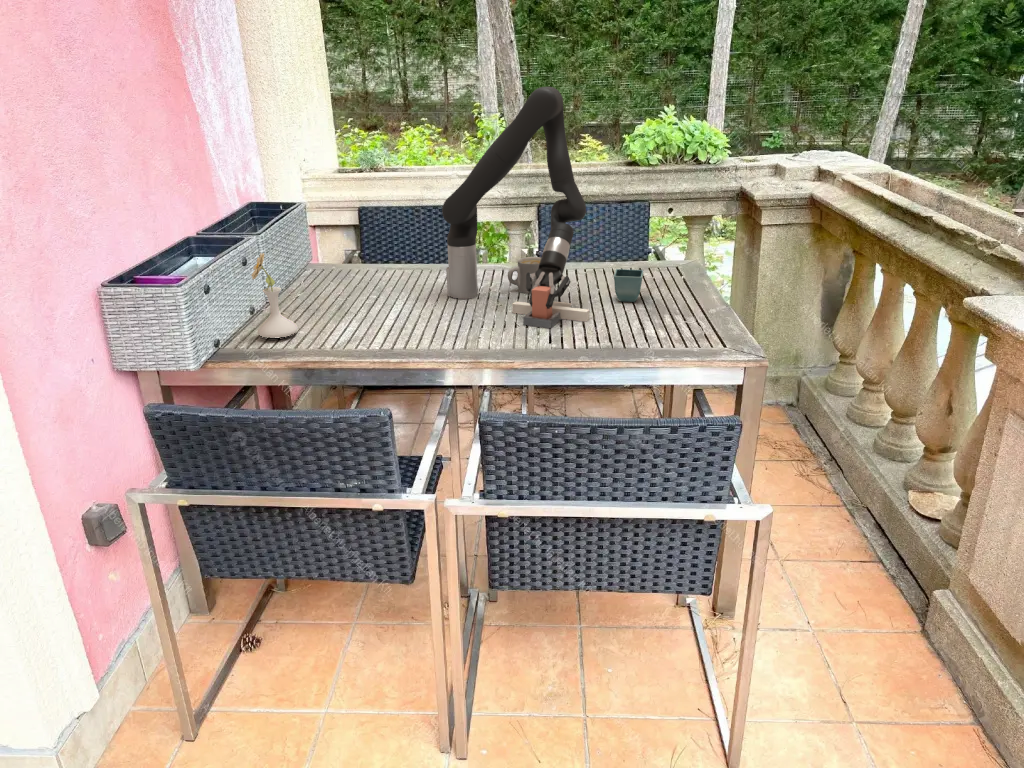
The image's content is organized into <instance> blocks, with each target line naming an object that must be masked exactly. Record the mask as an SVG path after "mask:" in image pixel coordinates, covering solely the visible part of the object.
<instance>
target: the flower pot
mask: <svg viewBox="0 0 1024 768" xmlns="http://www.w3.org/2000/svg"><path fill="white" fill-rule="evenodd" d="M643 274H644V270H643V269H626V268H625V269H623V268H617V269H615V271H614V274H613V281H614V283H613V284H614V292H615V295H616V298H617V300H618V302H624V303H626V302H627V303H628V302H629V303H630V302H631V303H635V302H636V301H637V299H638V298H639V296H640V293H641V288H642V284H643V283H642V282H643V278H644V275H643Z"/></svg>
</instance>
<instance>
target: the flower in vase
mask: <svg viewBox="0 0 1024 768" xmlns="http://www.w3.org/2000/svg"><path fill="white" fill-rule="evenodd" d="M264 259H265V253H264V252H263V253H262V252H260V254H259V257H257V258H256V265H254V266H253V267H252V268H253V272H252V273H251V274H250V275H251V278H252V280H255V279H256V278H257V277H258V275H259V274H260V271H261V270H263V272H265V275H266V276H267V277H266V278H265V282H266V284H267V287H266V288H264V289H262V292H263V293H264V294H265V296H266V298H267V300H268V302H269V307H270V314H269V316H268V318H266V320H265V321H263V323H262V324H261V325H260V326H259V327H258V328H257V330H256V331H257V332H256V333H257V336H259V335H260V336H262V337H261V338H263V337H271V338H275V337H285V336H288V335H291V334H293V333H295V332H296V333H297V332H298V330H299V327H298V325H297V324H296V323H295V322H294V321H292V320H290V319H289V318H287V317H286V316H283V315H282V314H281V312H280V307H279V294H280V292H281V290H282V288H281V287H278V286H274V285H275V283H276V281H275V279H273V277H271V275H270V274H268V272H267V270H266V269H265V268H264V267H263V264H264ZM273 286H274V287H273ZM296 333H295V334H296ZM293 335H294V334H293ZM260 336H259V337H260ZM291 336H292V335H291ZM285 338H286V337H285Z"/></svg>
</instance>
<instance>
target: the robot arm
mask: <svg viewBox="0 0 1024 768" xmlns="http://www.w3.org/2000/svg"><path fill="white" fill-rule="evenodd" d="M564 116H565V114H564V98H563V95H562V94H561V92H560V90H558V89H557V88H556V87H552V86H541V87H538V88H536V89H535V90H533V92H531V93H530V95H529V96H528V98H527V100H526V101H525V103H524V104H523V106H522V107H521V108H520V110H519V111H518V113H517V115H516V116H515V118H514V119H513V120H512V122H511V123H510V124H509V125H508V126H507V127H506V128H505V129H504V130H503V131H502V132H501V134H500V135H498V136H497V138H496V139H495V140H494V141H493V142H492V144H491V145H490V146H489V147H488V148H487V150H486V151H485V152H484V154H483V155H482V156H481V157H480V159H479V160H478V161H477V163H476V164H475V166H474V167H473V169H472V170H471V172H470V173H469V174H468V176H467V177H466V179H465V180H464V181H463V183H462V184H461V185H460V186H459V187H457V189H456V190H454V191H453V193H452V194H451V195H449V196H448V197H447V198H446V199H445V201H444V202H443V205H442V209H441V212H442V216H443V219H444V221H445V222H446V223H447V224H449V225H450V227H449V232H448V234H447V236H446V241H447V258H448V259H447V260H448V261H447V262H448V267H446V269H445V271H446V272H445V274H446V289H447V297H450V296H451V298H452V297H453V299H456V298H458V300H467V299H474V298H476V297H477V296H478V293H479V289H478V266H477V265H478V263H477V261H478V260H477V259H478V258H477V240H476V239H477V234H478V203H479V202H480V201H481V199H482V198H483V197H485V195H486V194H487V193H489V192H490V190H492V189H493V188H494V187H495V186H497V185H498V184H499V183H500V182H501V181H502V180H503V179H505V177H506V176H507V175H508V174H509V173H510V171H511V170H512V169H513V168H514V167H515V166H516V165H517V164H518V161H519V160H520V159H521V157H522V155H523V153H524V152H525V149H526V148H527V146H528V144H529V142H530V141H531V140H532V139H533V137H534V135H536V133H538V131H539V130H540V129H541V128H543V131H544V137H545V143H546V162H547V170H548V175H549V178H550V179H549V180H550V184H551V188H552V190H553V192H556V193H562V194H563V195H564V197H566V198H563V199H562V198H561V199H558V200H556V201H555V202H554V203H553V204H552V206H551V210H550V216H551V217H550V231H549V235H548V238H547V241H546V243H545V244H544V248H543V251H542V255H541V260H540V263H539V268H538V270H537V271H536V272H535V273H533V274H530V273H529V272H528V273H527V274H526V289H527V291H528V292H529V293H528V294H530V296H529V299H528V303H530V305H531V307H532V289H534V288H535V287H538V286H545V287H550V288H551V289H550V294H549V296H548V300H547V303H546V307H547V309H550V307H552V305H553V302H555V299H556V298H557V297H559V298H561V297H563V295H564V293H565V292H566V291H567V288H568V287H569V286H570V284H571V282H572V281H571V279H570V277H569V276H568V275H566V276H564V271H565V268H566V264H567V262H568V261H567V260H568V259H569V254H570V248H571V244H572V241H573V238H574V237H573V236H574V233H575V231H574V228H573V227H572V226H571V224H568V223H571V222H578V221H582V220H583V219H584V218H585V216H586V213H587V206H586V201H585V200H584V198H583V196H582V193H581V192H580V190H579V187H578V185H577V183H576V181H575V177H574V172H573V171H574V170H573V166H572V164H571V163H572V161H571V158H570V157H571V156H570V152H569V147H568V142H567V135H566V128H565V117H564ZM535 277H536V278H537V281H536V282H535V285H534V287H533V288H532V281H534V278H535ZM560 282H561V283H560ZM559 283H560V284H559ZM557 284H559V286H558V287H557Z"/></svg>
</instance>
